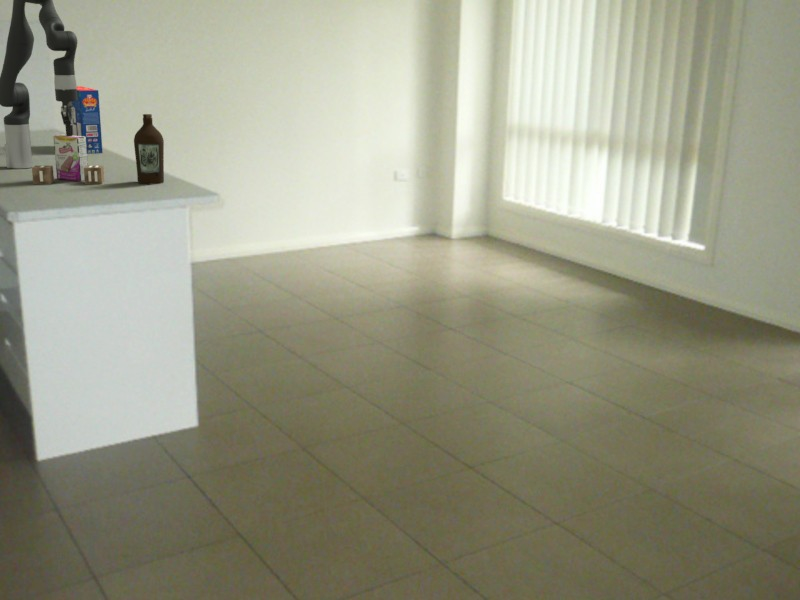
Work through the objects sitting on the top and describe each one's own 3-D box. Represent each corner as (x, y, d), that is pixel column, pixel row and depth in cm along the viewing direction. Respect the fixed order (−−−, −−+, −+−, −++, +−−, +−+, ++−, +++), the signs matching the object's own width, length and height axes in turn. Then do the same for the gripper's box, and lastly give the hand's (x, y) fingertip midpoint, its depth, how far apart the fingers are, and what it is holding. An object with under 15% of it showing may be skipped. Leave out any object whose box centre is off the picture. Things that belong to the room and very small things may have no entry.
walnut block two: (84, 184, 334) (83, 167, 332) (87, 181, 340) (86, 165, 338) (101, 184, 335) (100, 167, 333) (104, 181, 341) (103, 165, 339)
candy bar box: (56, 179, 342) (52, 135, 338) (65, 177, 347) (61, 134, 342) (81, 181, 339) (77, 137, 334) (89, 180, 343) (86, 135, 339)
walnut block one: (33, 184, 331) (31, 167, 330) (37, 181, 337) (35, 165, 335) (50, 184, 332) (49, 167, 330) (54, 181, 338) (52, 165, 336)
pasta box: (102, 153, 416) (98, 90, 408) (84, 154, 411) (80, 90, 403) (85, 146, 438) (80, 86, 430) (68, 146, 434) (63, 86, 426)
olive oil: (136, 180, 345) (133, 113, 338) (165, 179, 348) (162, 113, 341) (135, 184, 335) (131, 115, 328) (165, 184, 338) (162, 115, 331)
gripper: (58, 86, 339) (62, 133, 344) (51, 88, 326) (55, 137, 331) (79, 86, 340) (83, 133, 345) (73, 88, 328) (77, 137, 332)
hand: (69, 135), depth 338 cm, fingers closed
